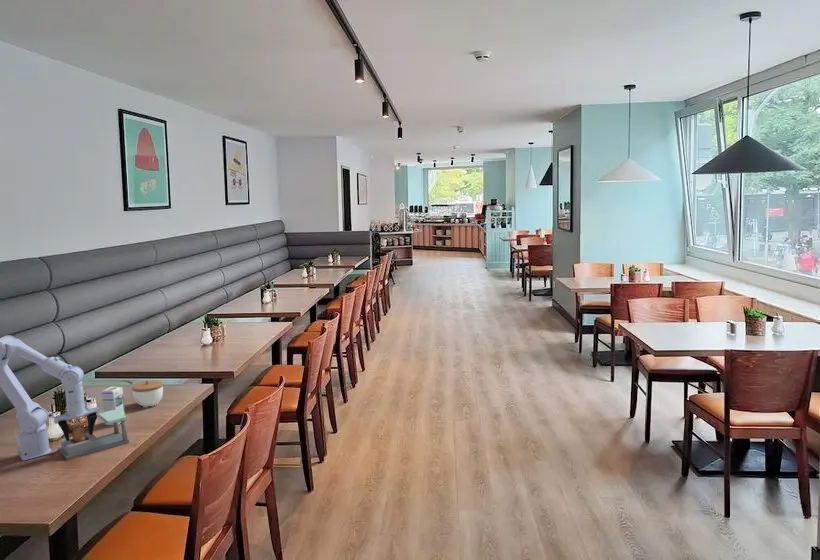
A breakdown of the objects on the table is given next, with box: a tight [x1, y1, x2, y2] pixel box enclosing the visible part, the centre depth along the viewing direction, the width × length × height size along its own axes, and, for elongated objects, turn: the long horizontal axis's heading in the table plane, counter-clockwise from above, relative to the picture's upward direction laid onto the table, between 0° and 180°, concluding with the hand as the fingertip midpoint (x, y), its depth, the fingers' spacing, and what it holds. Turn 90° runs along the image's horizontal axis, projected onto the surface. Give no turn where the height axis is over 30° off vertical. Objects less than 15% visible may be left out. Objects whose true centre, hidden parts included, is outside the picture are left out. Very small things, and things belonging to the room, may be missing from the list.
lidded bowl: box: [131, 379, 164, 408], centre depth 273 cm, size 13×13×11 cm
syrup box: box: [100, 386, 127, 426], centre depth 252 cm, size 6×6×14 cm
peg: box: [71, 424, 86, 444], centre depth 225 cm, size 4×4×8 cm
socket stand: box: [57, 409, 130, 461], centre depth 228 cm, size 21×12×10 cm, turn 132°
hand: (79, 437), depth 225 cm, fingers open, 7 cm apart
